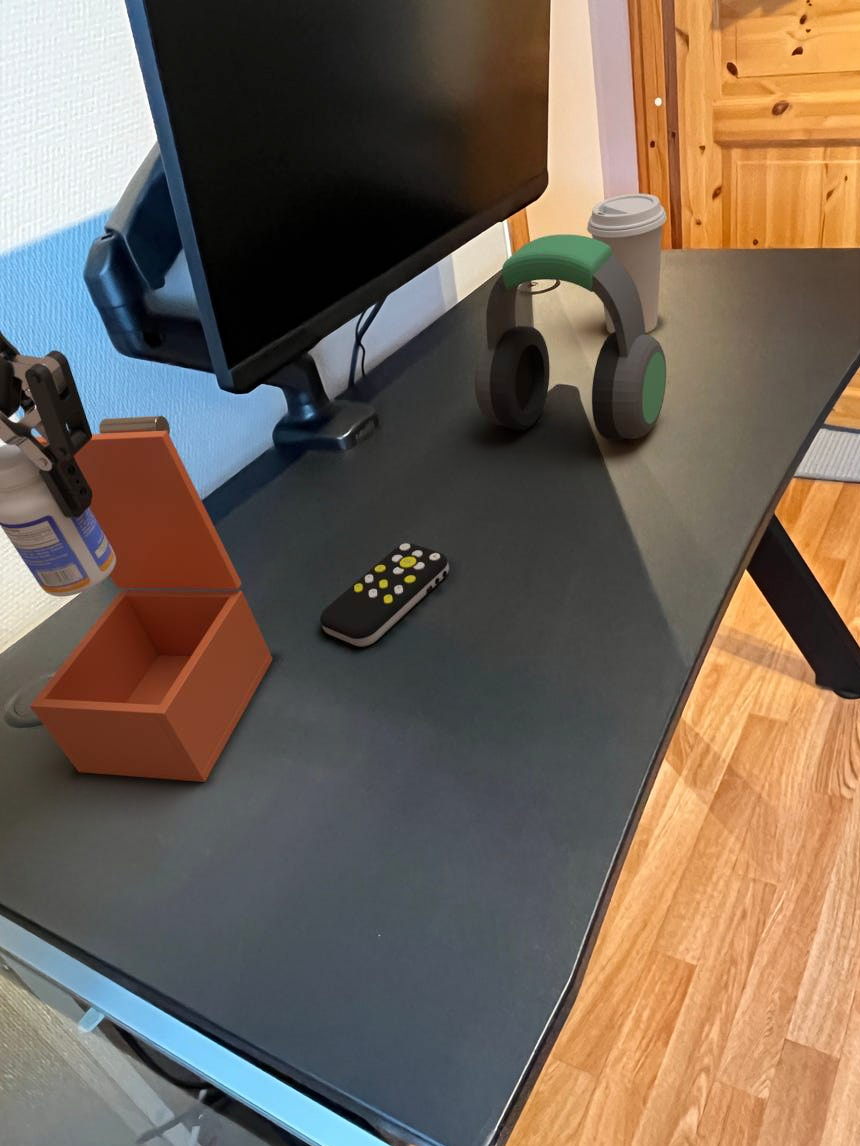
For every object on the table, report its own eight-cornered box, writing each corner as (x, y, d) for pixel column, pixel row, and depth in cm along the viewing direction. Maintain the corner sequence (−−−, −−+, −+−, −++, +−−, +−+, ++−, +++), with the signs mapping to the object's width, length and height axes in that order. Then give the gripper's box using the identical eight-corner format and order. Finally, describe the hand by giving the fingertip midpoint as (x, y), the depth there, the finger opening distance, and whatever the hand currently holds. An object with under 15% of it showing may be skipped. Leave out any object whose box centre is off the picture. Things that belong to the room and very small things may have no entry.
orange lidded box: (205, 782, 67) (163, 713, 62) (78, 772, 70) (29, 705, 65) (273, 659, 76) (242, 590, 71) (159, 655, 79) (121, 589, 74)
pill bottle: (90, 544, 64) (23, 427, 58) (133, 562, 62) (68, 441, 55) (27, 587, 62) (-51, 468, 55) (70, 608, 59) (-8, 485, 52)
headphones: (672, 410, 96) (668, 221, 83) (638, 462, 90) (627, 265, 77) (519, 397, 105) (493, 223, 92) (477, 444, 98) (443, 263, 85)
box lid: (162, 436, 61) (195, 395, 64) (25, 442, 64) (64, 403, 67) (238, 589, 71) (263, 546, 74) (117, 588, 74) (146, 547, 77)
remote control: (317, 632, 78) (310, 615, 77) (407, 553, 85) (403, 536, 83) (367, 653, 75) (361, 636, 73) (456, 569, 81) (452, 552, 80)
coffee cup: (589, 319, 118) (578, 202, 108) (658, 305, 118) (654, 185, 108) (604, 348, 111) (594, 224, 101) (678, 332, 111) (675, 207, 101)
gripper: (36, 213, 48) (162, 478, 59) (-165, 239, 51) (-11, 483, 63) (-53, 265, 42) (104, 545, 53) (-269, 289, 46) (-80, 546, 57)
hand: (41, 510), depth 58 cm, fingers closed on pill bottle, 5 cm apart
